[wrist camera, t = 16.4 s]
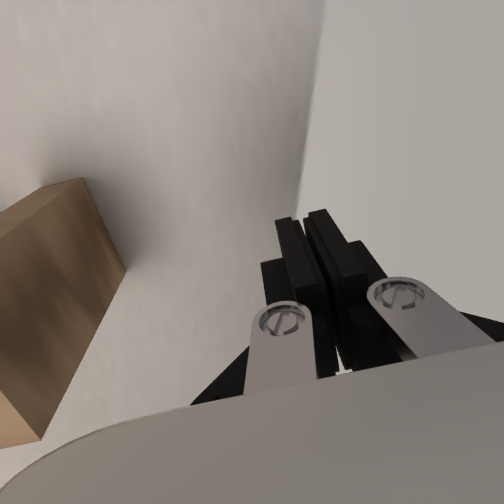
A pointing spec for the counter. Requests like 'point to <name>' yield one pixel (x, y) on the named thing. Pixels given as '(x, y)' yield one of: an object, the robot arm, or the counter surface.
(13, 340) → the domino
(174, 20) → the counter surface
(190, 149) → the counter surface
